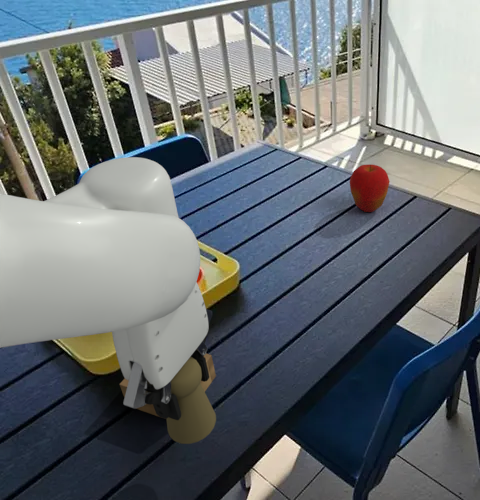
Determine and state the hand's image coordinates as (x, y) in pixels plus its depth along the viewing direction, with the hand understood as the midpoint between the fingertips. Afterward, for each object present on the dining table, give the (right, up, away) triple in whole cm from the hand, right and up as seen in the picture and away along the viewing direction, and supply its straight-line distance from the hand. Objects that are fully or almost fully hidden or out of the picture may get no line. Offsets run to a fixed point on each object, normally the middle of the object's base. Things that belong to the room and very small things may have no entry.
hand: (183, 394), depth 60 cm
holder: (-7, -4, +17) cm, 19 cm away
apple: (+25, +27, +61) cm, 71 cm away
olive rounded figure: (0, -5, +4) cm, 6 cm away
